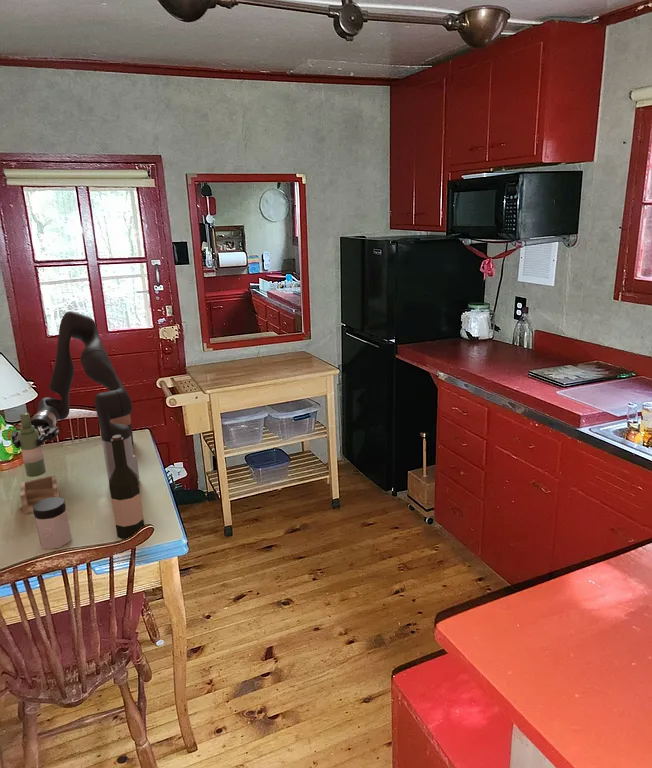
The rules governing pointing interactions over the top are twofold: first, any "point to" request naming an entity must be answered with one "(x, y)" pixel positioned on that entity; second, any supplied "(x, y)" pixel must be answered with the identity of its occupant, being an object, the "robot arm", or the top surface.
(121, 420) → the travel mug
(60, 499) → the jar
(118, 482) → the wine bottle
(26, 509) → the cradle
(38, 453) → the green bottle
